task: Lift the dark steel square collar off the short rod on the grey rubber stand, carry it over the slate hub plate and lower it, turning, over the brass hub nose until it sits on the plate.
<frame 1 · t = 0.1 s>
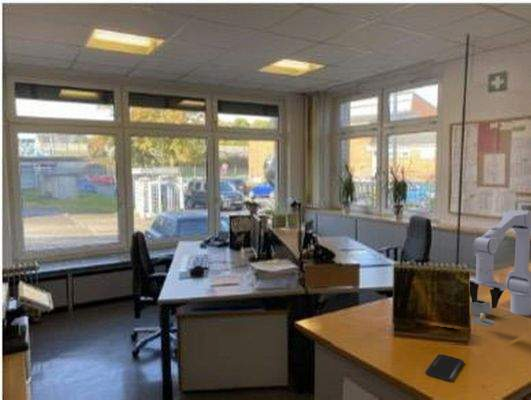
hand: (484, 304, 154), 10 cm above the table, tool pointing down, fingers open, 7 cm apart
hub plate: (482, 323, 161), on the table
phone: (444, 369, 128), on the table
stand: (479, 316, 169), on the table
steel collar: (479, 313, 169), point 1 cm above the table, touching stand
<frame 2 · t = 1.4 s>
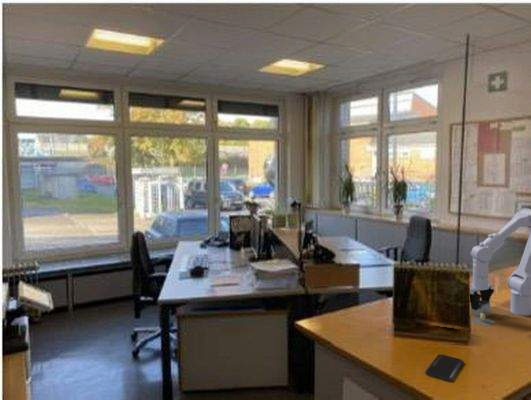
hand: (479, 307, 169), 4 cm above the table, tool pointing down, fingers open, 7 cm apart
nothing on the table moved.
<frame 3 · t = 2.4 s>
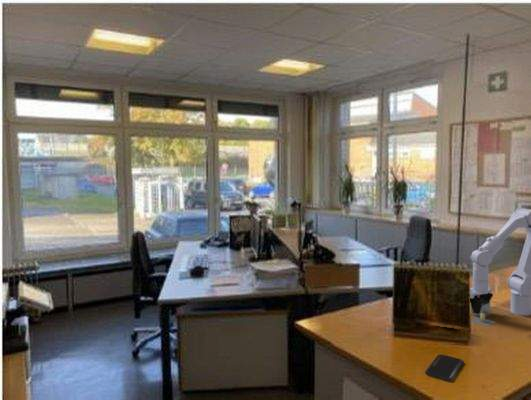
hand: (479, 311, 169), 2 cm above the table, tool pointing down, fingers closed on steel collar, 5 cm apart
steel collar: (479, 313, 169), point 1 cm above the table, touching gripper, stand
everything else where it was.
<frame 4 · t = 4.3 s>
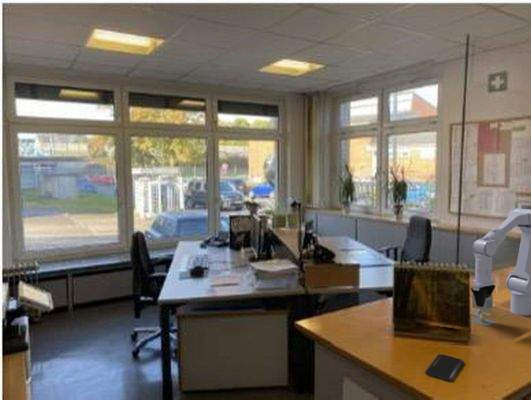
hand: (482, 304, 161), 8 cm above the table, tool pointing down, fingers closed on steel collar, 5 cm apart
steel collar: (482, 307, 161), point 7 cm above the table, touching gripper
everything else where it was.
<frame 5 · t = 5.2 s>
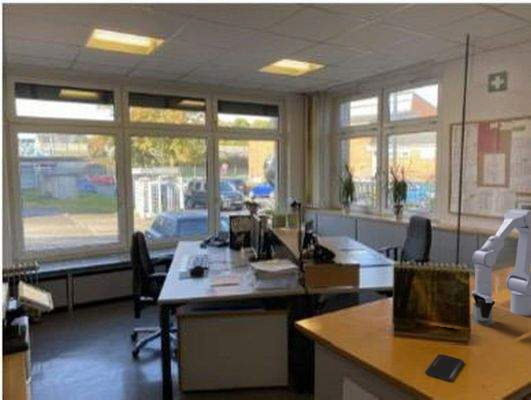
hand: (482, 314, 161), 4 cm above the table, tool pointing down, fingers closed on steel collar, 5 cm apart
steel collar: (482, 318, 161), point 2 cm above the table, touching gripper
everything else where it was.
when the fingers open (4 cm above the table, at t = 6.0 s): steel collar drops 1 cm, resting on hub plate.
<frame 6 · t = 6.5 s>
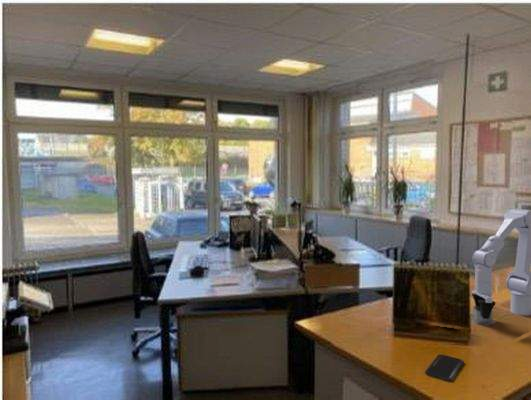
hand: (482, 314, 161), 4 cm above the table, tool pointing down, fingers open, 7 cm apart
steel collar: (482, 321, 161), point 1 cm above the table, touching hub plate
everything else where it was.
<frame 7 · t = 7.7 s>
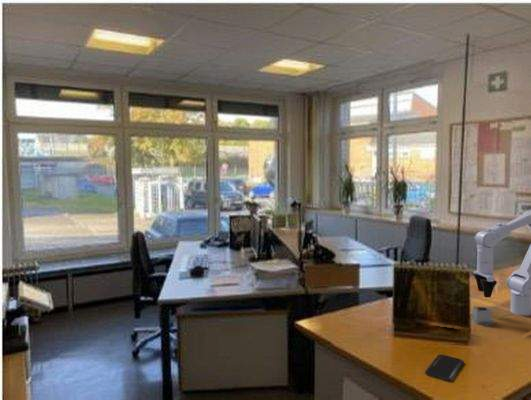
hand: (484, 294, 167), 10 cm above the table, tool pointing down, fingers open, 7 cm apart
nothing on the table moved.
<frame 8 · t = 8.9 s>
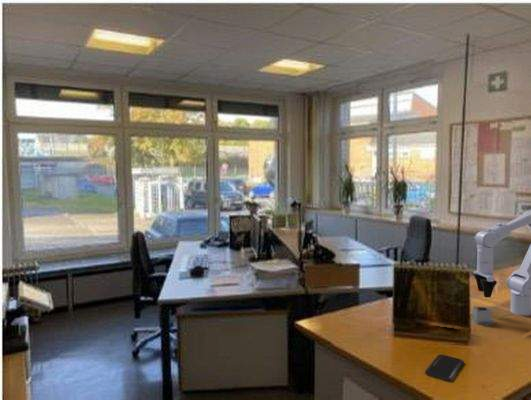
hand: (484, 294, 167), 10 cm above the table, tool pointing down, fingers open, 7 cm apart
nothing on the table moved.
at the end: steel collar 0.2 cm off-centre on the hub plate, point 1.0 cm above the hub plate's base; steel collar tilted 0°; the gripper is holding nothing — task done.
